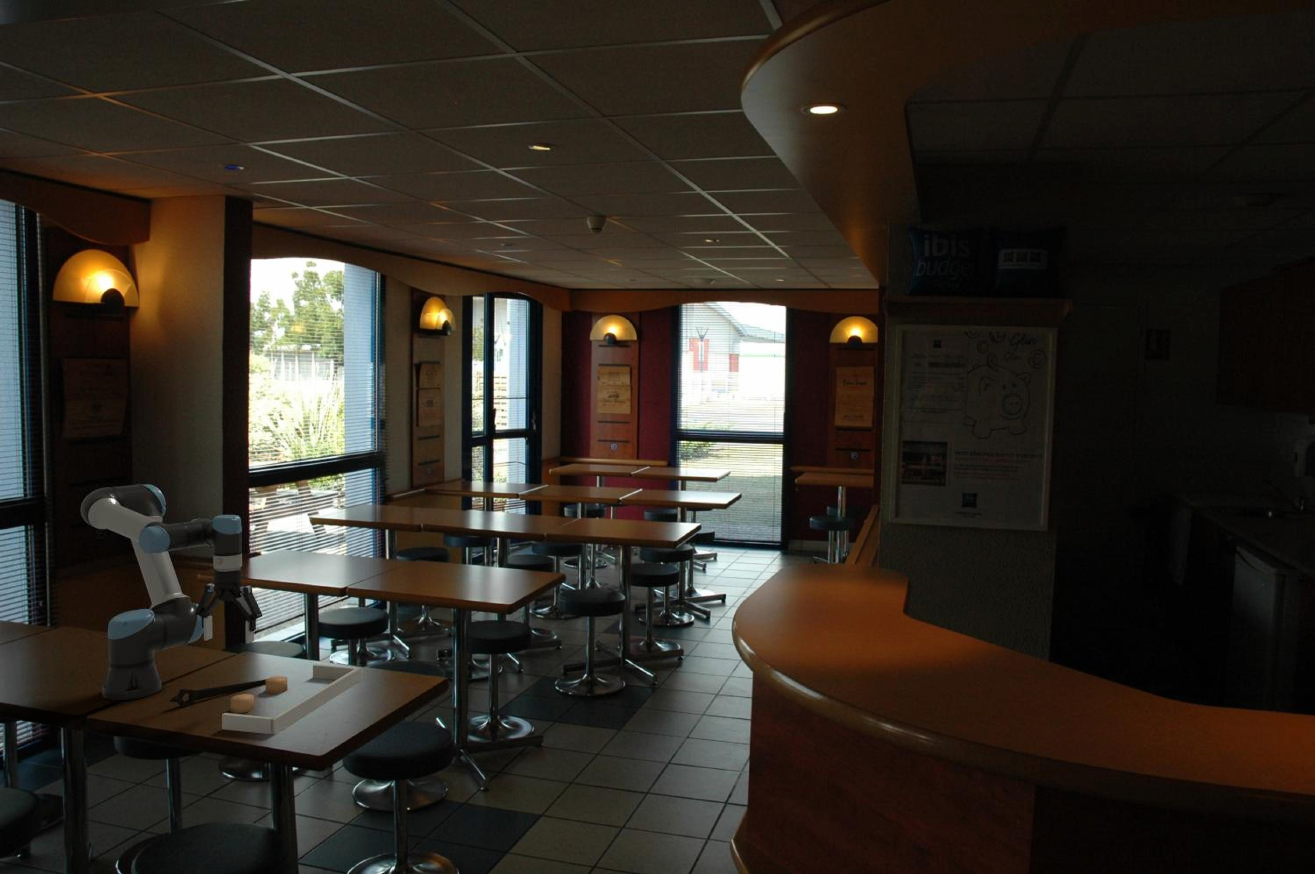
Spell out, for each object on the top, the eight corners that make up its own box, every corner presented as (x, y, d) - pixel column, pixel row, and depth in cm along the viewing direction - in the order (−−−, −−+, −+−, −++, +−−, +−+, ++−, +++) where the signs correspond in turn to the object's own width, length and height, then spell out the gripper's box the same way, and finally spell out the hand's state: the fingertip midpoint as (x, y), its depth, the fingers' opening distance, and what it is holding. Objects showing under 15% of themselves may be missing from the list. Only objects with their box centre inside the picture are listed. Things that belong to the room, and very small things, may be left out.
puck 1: (225, 712, 252) (225, 700, 252) (239, 705, 258) (239, 693, 258) (245, 714, 251) (245, 702, 251) (258, 706, 257) (258, 694, 257)
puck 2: (261, 693, 268) (261, 681, 268) (273, 686, 274) (273, 675, 274) (279, 695, 267) (279, 683, 266) (291, 688, 273) (291, 677, 272)
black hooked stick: (278, 692, 274) (175, 712, 251) (270, 689, 278) (167, 709, 254) (279, 675, 274) (176, 693, 251) (271, 672, 278) (168, 690, 255)
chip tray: (222, 729, 240) (221, 714, 240) (315, 676, 283) (315, 664, 283) (274, 734, 237) (274, 719, 237) (360, 680, 280) (360, 667, 280)
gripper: (180, 569, 261) (182, 641, 262) (258, 573, 256) (259, 647, 257) (198, 564, 268) (199, 634, 269) (274, 568, 263) (275, 639, 265)
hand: (229, 640), depth 263 cm, fingers open, 13 cm apart
